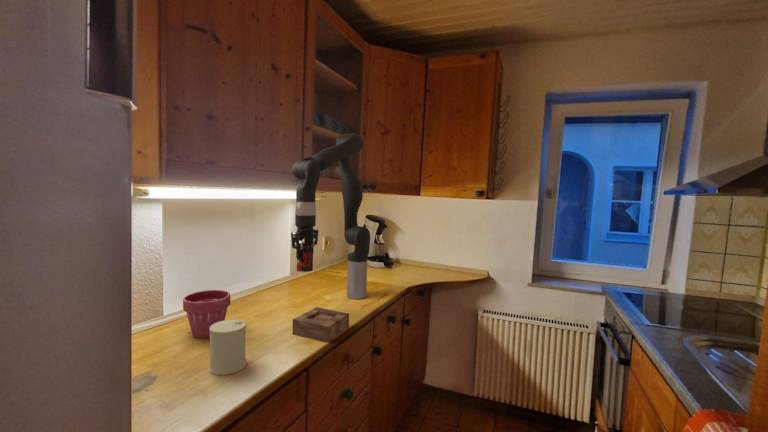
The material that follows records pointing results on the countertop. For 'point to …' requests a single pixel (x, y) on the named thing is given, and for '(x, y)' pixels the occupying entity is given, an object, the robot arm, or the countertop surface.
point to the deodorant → (306, 253)
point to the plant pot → (205, 310)
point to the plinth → (321, 324)
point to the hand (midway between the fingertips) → (305, 257)
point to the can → (227, 346)
